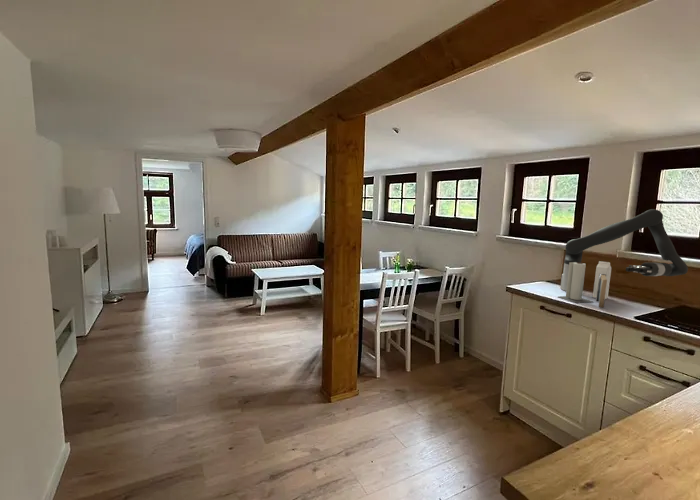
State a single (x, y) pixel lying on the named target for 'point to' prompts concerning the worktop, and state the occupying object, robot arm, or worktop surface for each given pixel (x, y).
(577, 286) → the white carton
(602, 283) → the picture frame
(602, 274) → the post
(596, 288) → the milk
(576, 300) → the mat
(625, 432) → the worktop surface
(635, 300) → the worktop surface
